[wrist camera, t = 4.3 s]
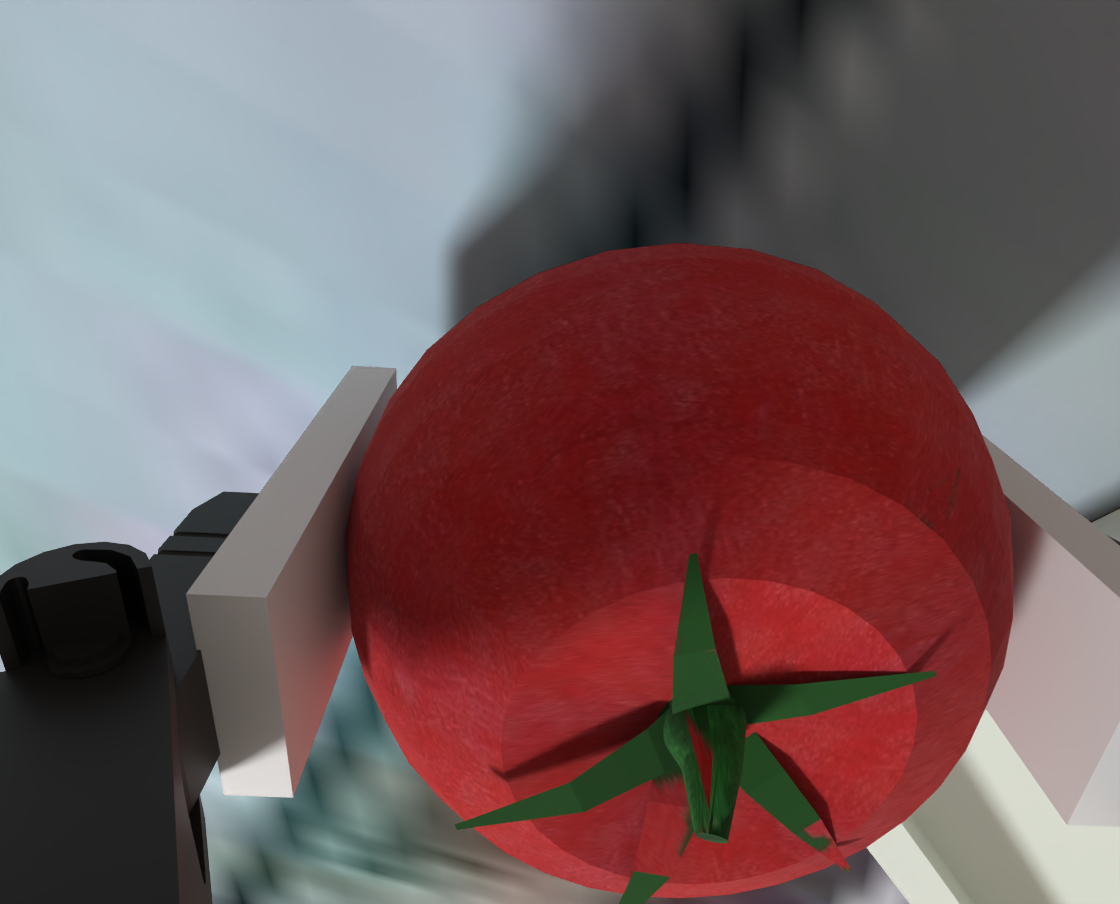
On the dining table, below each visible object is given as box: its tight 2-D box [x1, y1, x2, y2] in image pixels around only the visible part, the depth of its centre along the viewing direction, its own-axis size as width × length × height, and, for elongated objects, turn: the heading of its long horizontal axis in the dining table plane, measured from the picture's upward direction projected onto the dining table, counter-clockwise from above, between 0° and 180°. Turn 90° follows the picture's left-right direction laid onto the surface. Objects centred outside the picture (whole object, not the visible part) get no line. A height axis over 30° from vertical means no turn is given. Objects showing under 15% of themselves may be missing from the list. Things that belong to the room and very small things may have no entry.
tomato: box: [346, 243, 1014, 904], centre depth 10 cm, size 9×9×8 cm
